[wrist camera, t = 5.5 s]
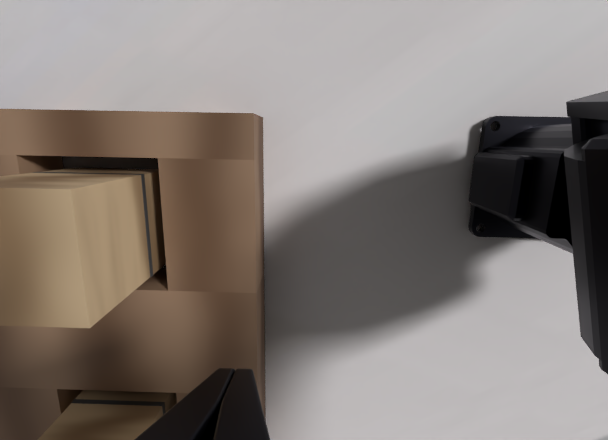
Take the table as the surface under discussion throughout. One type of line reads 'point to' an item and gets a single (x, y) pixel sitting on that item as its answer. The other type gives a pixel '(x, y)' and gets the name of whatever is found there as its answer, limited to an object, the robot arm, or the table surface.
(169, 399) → the oak peg
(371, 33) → the table surface
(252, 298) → the walnut board
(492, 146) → the robot arm
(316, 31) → the table surface
